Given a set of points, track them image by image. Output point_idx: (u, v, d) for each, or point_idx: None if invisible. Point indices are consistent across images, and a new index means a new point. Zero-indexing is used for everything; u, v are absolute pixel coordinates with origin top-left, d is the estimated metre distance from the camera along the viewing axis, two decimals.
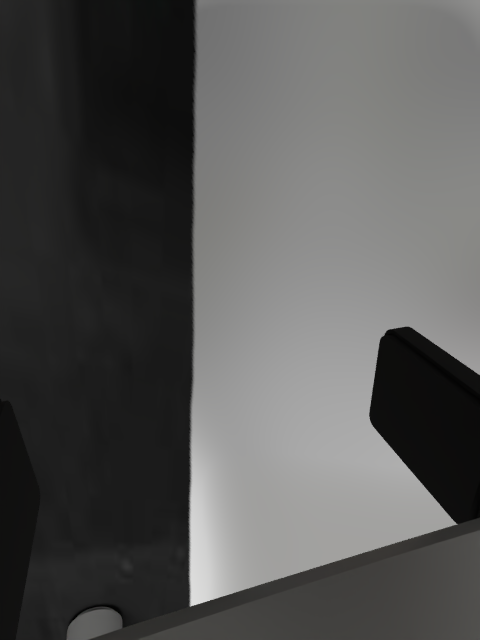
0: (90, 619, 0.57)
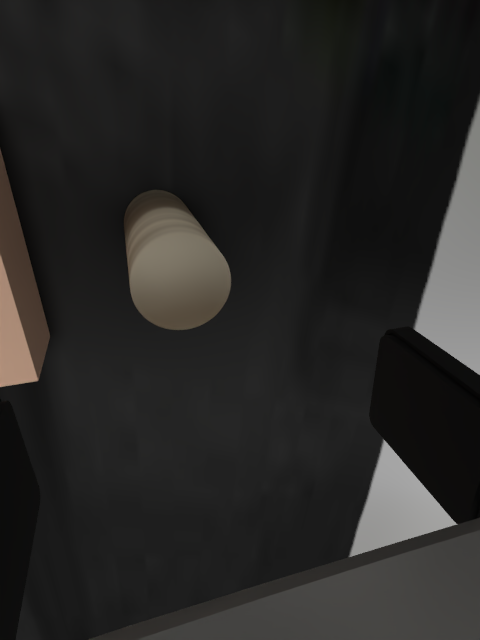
0: None
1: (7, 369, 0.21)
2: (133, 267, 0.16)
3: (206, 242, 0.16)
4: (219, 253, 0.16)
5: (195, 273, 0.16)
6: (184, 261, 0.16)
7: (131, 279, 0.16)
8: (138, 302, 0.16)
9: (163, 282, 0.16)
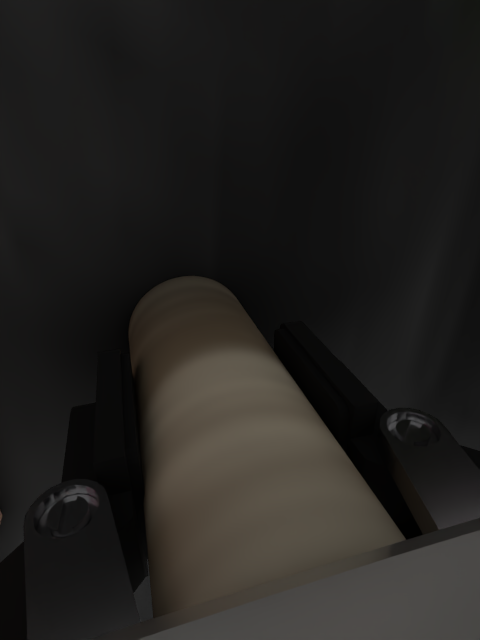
0: None
1: None
2: None
3: None
4: None
5: None
6: None
7: None
8: None
9: None
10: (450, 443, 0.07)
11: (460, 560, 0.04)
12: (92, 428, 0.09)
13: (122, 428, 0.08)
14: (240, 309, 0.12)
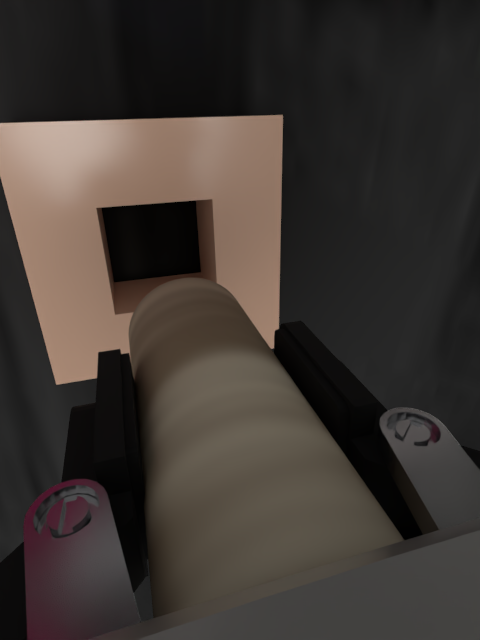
0: None
1: None
2: None
3: None
4: None
5: None
6: None
7: None
8: None
9: None
10: (450, 443, 0.07)
11: (460, 559, 0.04)
12: (92, 428, 0.09)
13: (122, 428, 0.08)
14: (240, 311, 0.12)
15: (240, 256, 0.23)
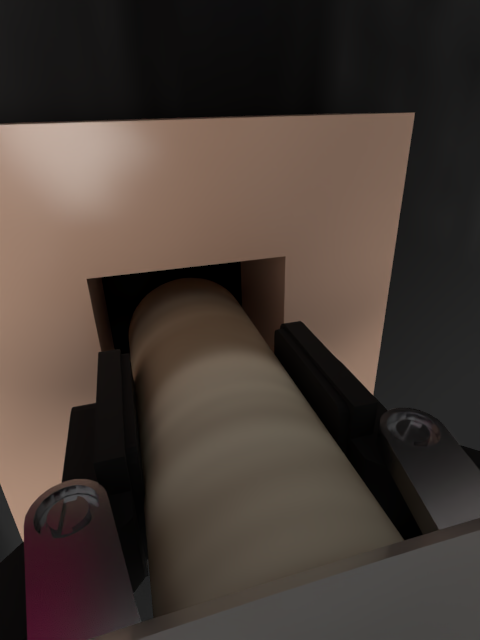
0: None
1: None
2: None
3: None
4: None
5: None
6: None
7: None
8: None
9: None
10: (450, 443, 0.07)
11: (460, 560, 0.04)
12: (91, 428, 0.09)
13: (122, 428, 0.08)
14: (240, 311, 0.12)
15: (321, 341, 0.14)
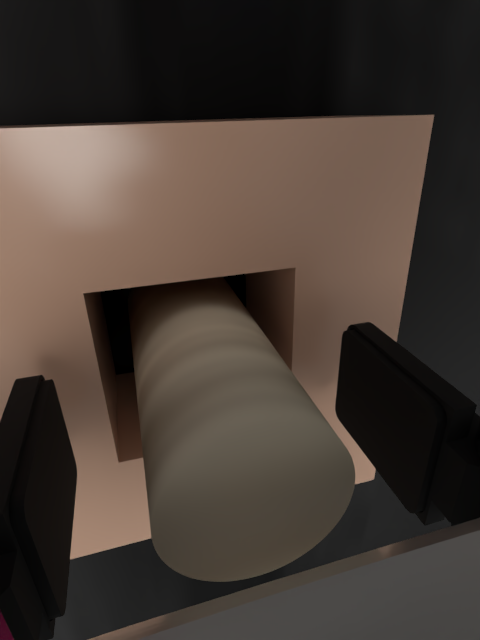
0: None
1: None
2: (158, 493, 0.07)
3: (316, 429, 0.07)
4: (340, 445, 0.08)
5: (288, 486, 0.08)
6: (268, 468, 0.07)
7: (154, 517, 0.07)
8: (167, 552, 0.08)
9: (222, 510, 0.07)
10: None
11: (460, 560, 0.04)
12: None
13: (12, 476, 0.07)
14: (222, 280, 0.14)
15: (332, 356, 0.13)
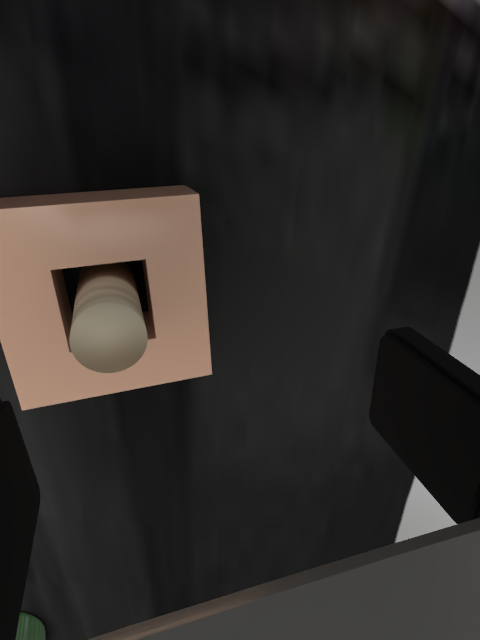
0: None
1: (194, 366, 0.30)
2: (71, 329, 0.21)
3: (125, 309, 0.22)
4: (136, 316, 0.22)
5: (119, 332, 0.22)
6: (109, 323, 0.22)
7: (70, 338, 0.21)
8: (76, 354, 0.22)
9: (95, 339, 0.22)
10: None
11: (460, 560, 0.04)
12: None
13: None
14: (123, 268, 0.29)
15: (172, 302, 0.28)
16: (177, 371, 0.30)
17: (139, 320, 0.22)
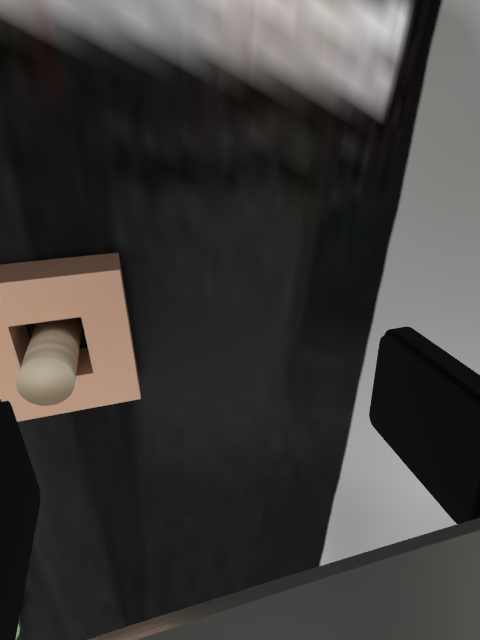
0: None
1: (125, 393, 0.39)
2: (17, 376, 0.30)
3: (56, 362, 0.30)
4: (65, 367, 0.31)
5: (53, 377, 0.31)
6: (45, 372, 0.30)
7: (16, 382, 0.30)
8: (22, 393, 0.31)
9: (35, 382, 0.31)
10: None
11: (460, 560, 0.04)
12: None
13: None
14: None
15: (104, 346, 0.36)
16: (112, 396, 0.39)
17: (67, 369, 0.31)
